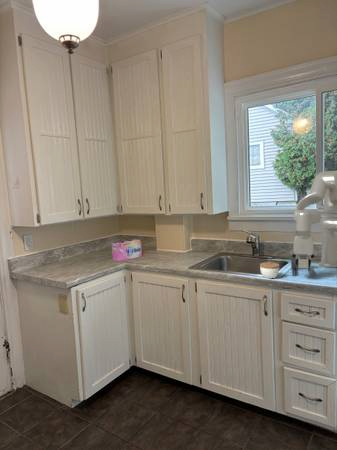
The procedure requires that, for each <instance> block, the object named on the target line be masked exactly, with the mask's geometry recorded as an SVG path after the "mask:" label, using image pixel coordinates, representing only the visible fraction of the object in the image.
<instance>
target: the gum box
mask: <svg viewBox="0 0 337 450" xmlns="http://www.w3.org/2000/svg"><path fill="white" fill-rule="evenodd" d="M111 252H112V253H111V254H112V255H111V256H112V260H113V261H115V262H121V261H126V260H130V259H135V258H140V257H143V253H142V252H143V251H142V240H141V239H138V238H132V239H126V240H120V241H116V242H111Z"/></svg>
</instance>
